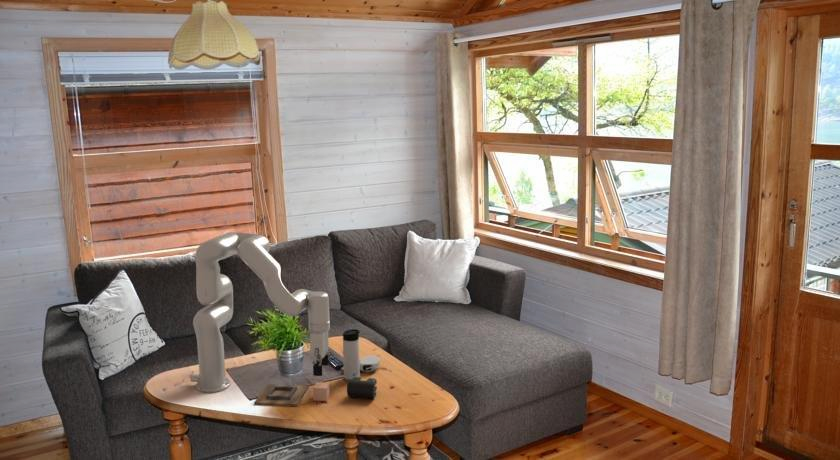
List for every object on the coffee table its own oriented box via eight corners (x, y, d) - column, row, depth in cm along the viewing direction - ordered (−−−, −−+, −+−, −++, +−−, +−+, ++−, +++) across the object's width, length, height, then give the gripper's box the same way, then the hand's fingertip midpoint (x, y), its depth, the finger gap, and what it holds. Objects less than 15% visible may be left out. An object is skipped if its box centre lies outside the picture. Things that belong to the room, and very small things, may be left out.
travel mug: (358, 382, 268) (357, 333, 264) (341, 381, 270) (340, 332, 266) (362, 376, 274) (361, 328, 270) (346, 374, 276) (345, 327, 272)
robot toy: (340, 376, 276) (377, 375, 275) (339, 366, 276) (376, 364, 274) (346, 364, 288) (382, 363, 287) (345, 354, 288) (381, 353, 286)
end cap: (346, 400, 253) (346, 382, 252) (352, 392, 260) (351, 375, 259) (373, 402, 251) (372, 384, 250) (377, 394, 258) (377, 377, 257)
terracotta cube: (313, 400, 253) (312, 387, 252) (316, 394, 258) (316, 382, 257) (326, 401, 252) (326, 388, 252) (329, 395, 257) (329, 382, 256)
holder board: (254, 404, 250) (253, 399, 249) (268, 386, 265) (267, 381, 265) (297, 406, 248) (297, 401, 248) (308, 387, 264) (308, 382, 263)
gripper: (315, 318, 258) (316, 361, 262) (302, 333, 242) (305, 379, 245) (334, 318, 258) (336, 361, 261) (323, 334, 241) (325, 380, 244)
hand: (321, 370), depth 253 cm, fingers open, 9 cm apart
